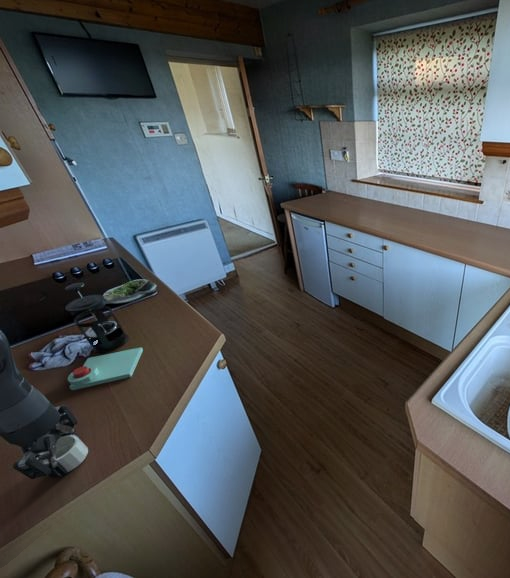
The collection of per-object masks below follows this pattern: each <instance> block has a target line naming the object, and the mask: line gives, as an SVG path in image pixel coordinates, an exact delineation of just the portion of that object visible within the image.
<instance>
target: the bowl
mask: <svg viewBox="0 0 510 578" xmlns="http://www.w3.org/2000/svg"><path fill="white" fill-rule="evenodd" d="M80 439H81V438H80ZM80 439H79V438H78V437H77V436H75V435H66V436H62V437H60V438H59V439H58V440H57V443H56V448H57V452H58V453H57V454H56V455H55V457H56V460H57V463H60V464H61V465H62V466H63V467H64V468H65V469H66V470H67V473H69V472H71V471H73V470H74V469H76V468H77V467H79V466H80V465H81V464H82V463H83V462H84V460H85V459H86V458H87V456H88V453H89V448H88V446H86V444H85V443H84V442H83V440H82V439H81V440H82V441H81V440H80ZM47 453H49V451H46V452H42V453H39V455H43V454H47ZM47 463H49V461H48V460H47V459H45V460H44V464H47Z"/></svg>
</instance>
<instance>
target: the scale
mask: <svg viewBox="0 0 510 578" xmlns="http://www.w3.org/2000/svg"><path fill="white" fill-rule="evenodd" d="M143 351H144V349H143V347H136V348H131V349H125V350H120V351H118V352H112V353H107V354H106V353H105V354H102V355H96V356H91V357H87V359H86V361H85V362H84V364H83V365H82V366H86V367H88V369H89V370H90V373H89V374H87V375H86V376H84V377H82V378H75V376H74V375H73V374H72V373H73V371H72V372H70V373H69V375H68V377H67V379H66V380H67V381H68V383H69V384H70V385H69V387H68V388H69V389H70V390H71V391H76V390H81V389H84V388H89V387H93V386H94V387H95V386H98V385H102V384H106V383H112V382H116V381H119V380H124V379H128V378H132V376H133V374H134V372H135V369H136V368H137V365H138V363H139V361H140V358H141V356H142V354H143Z"/></svg>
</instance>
